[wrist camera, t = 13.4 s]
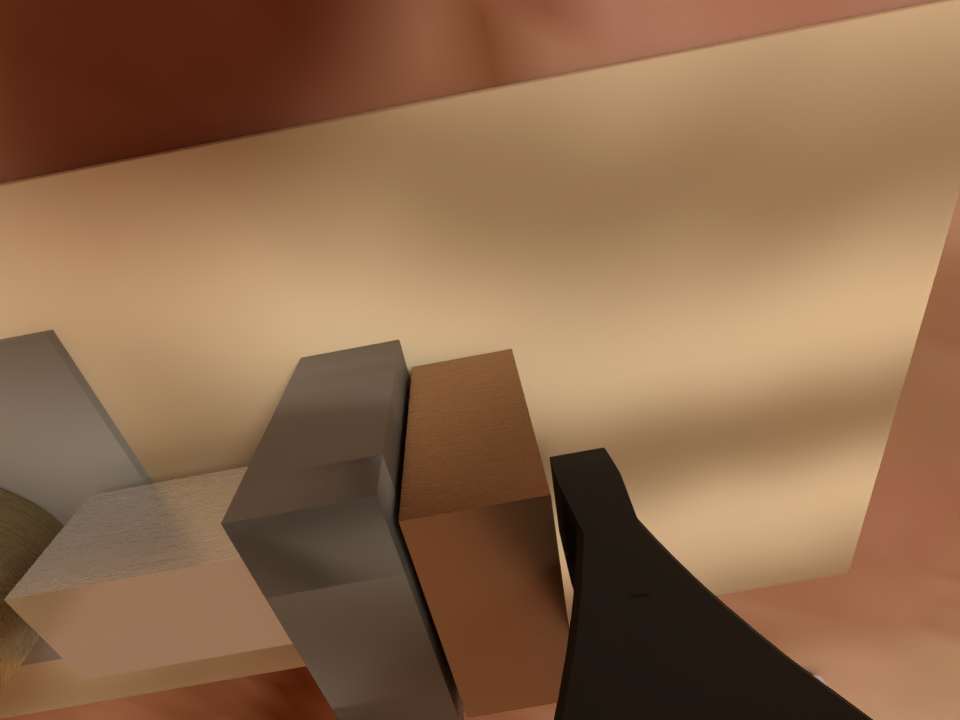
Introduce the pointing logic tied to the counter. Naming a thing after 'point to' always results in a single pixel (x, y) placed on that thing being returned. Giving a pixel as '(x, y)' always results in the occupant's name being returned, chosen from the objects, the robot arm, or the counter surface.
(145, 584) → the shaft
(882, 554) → the counter surface
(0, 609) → the cylinder
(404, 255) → the clamp jig
